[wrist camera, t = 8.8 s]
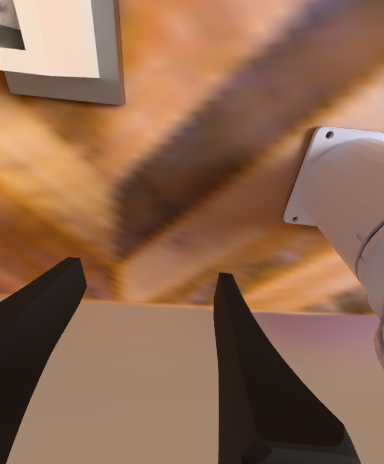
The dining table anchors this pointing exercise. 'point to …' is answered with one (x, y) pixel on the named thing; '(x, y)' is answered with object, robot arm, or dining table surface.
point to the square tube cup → (51, 39)
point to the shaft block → (78, 88)
